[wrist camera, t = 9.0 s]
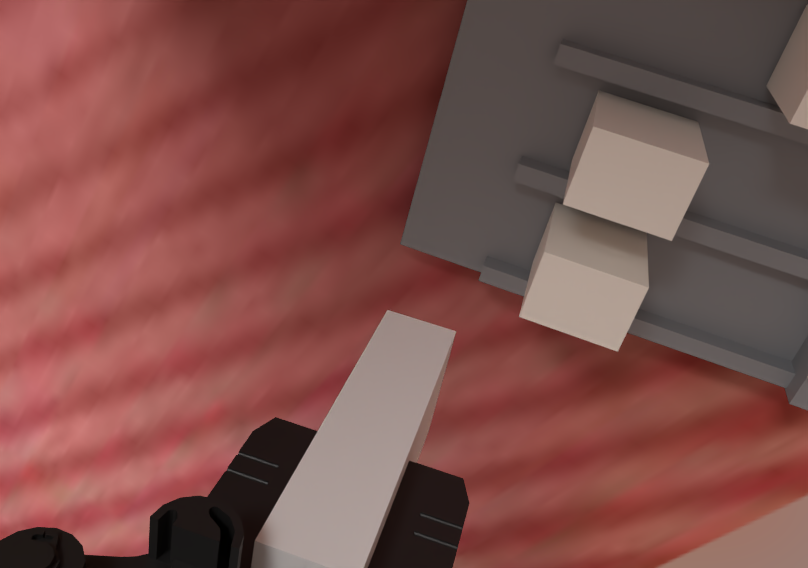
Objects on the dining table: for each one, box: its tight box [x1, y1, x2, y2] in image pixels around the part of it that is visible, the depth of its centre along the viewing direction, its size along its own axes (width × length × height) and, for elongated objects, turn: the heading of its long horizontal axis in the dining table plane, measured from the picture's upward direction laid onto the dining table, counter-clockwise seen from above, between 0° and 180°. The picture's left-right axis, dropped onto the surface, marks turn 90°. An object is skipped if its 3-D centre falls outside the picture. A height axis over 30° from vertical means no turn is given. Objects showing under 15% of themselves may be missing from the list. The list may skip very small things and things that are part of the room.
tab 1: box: [563, 91, 709, 241], centre depth 29 cm, size 4×3×5 cm
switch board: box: [400, 0, 808, 410], centre depth 30 cm, size 20×16×4 cm
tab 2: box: [519, 203, 649, 352], centre depth 31 cm, size 4×3×5 cm
